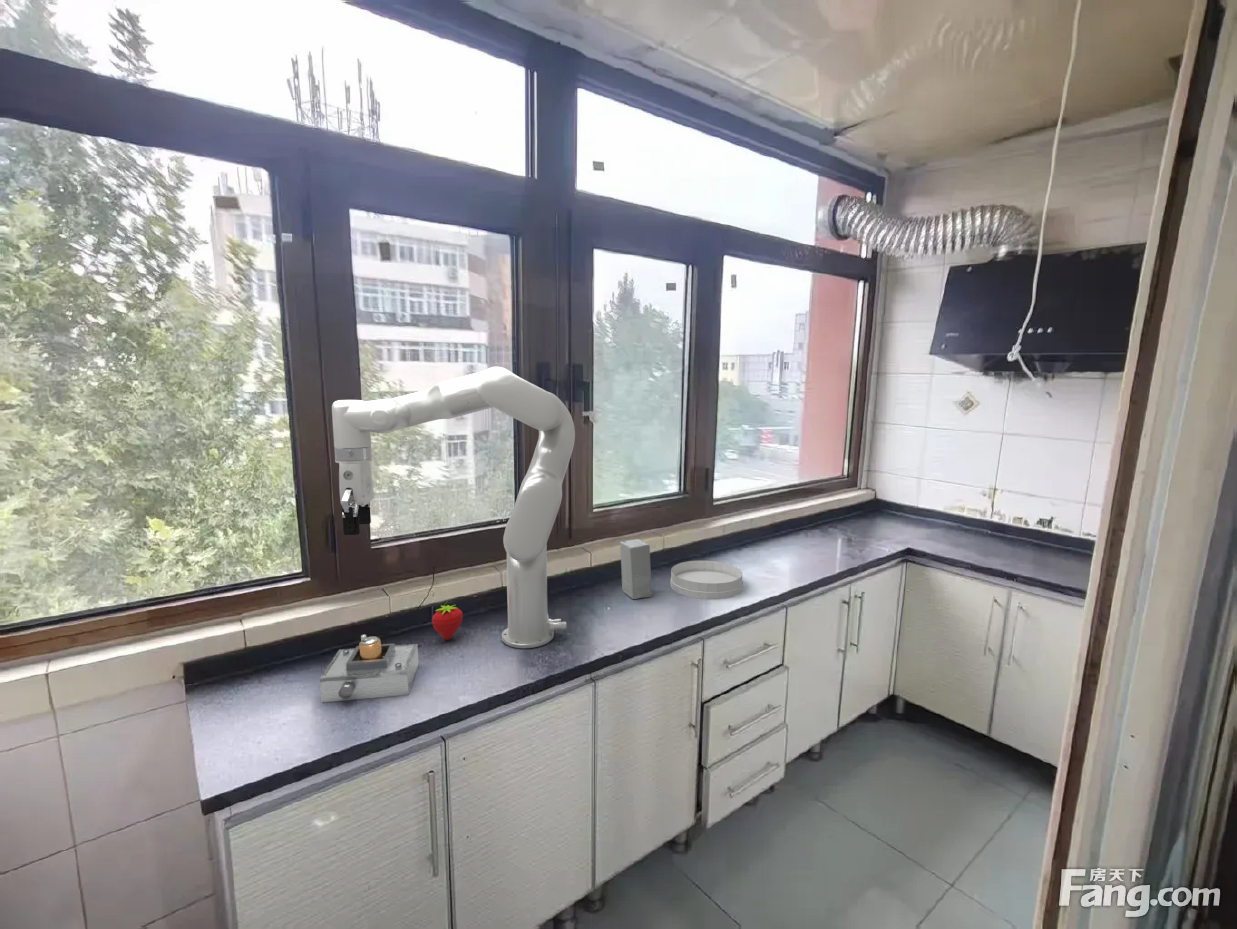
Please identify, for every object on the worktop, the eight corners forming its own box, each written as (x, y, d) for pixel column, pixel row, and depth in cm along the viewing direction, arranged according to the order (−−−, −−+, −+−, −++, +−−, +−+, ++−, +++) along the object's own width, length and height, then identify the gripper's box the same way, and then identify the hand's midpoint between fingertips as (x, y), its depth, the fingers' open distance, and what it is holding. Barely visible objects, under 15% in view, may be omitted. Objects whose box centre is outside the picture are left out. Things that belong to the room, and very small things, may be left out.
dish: (705, 570, 189) (705, 556, 188) (757, 589, 171) (758, 573, 170) (655, 584, 175) (655, 569, 174) (707, 606, 158) (707, 589, 157)
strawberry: (468, 638, 136) (467, 599, 135) (439, 648, 131) (437, 607, 130) (457, 631, 140) (455, 592, 139) (428, 640, 135) (426, 600, 134)
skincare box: (652, 597, 164) (653, 544, 161) (629, 600, 161) (630, 547, 159) (640, 587, 171) (641, 537, 169) (619, 590, 169) (619, 539, 166)
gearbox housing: (418, 665, 123) (417, 637, 122) (406, 700, 109) (404, 669, 109) (340, 671, 120) (338, 643, 119) (318, 708, 107) (315, 676, 106)
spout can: (385, 671, 118) (380, 628, 117) (383, 680, 115) (378, 637, 113) (364, 675, 117) (359, 632, 116) (362, 684, 113) (357, 640, 112)
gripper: (360, 459, 118) (365, 538, 121) (380, 450, 135) (383, 519, 137) (322, 460, 117) (328, 539, 119) (346, 450, 134) (351, 520, 136)
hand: (358, 529), depth 128 cm, fingers open, 9 cm apart
